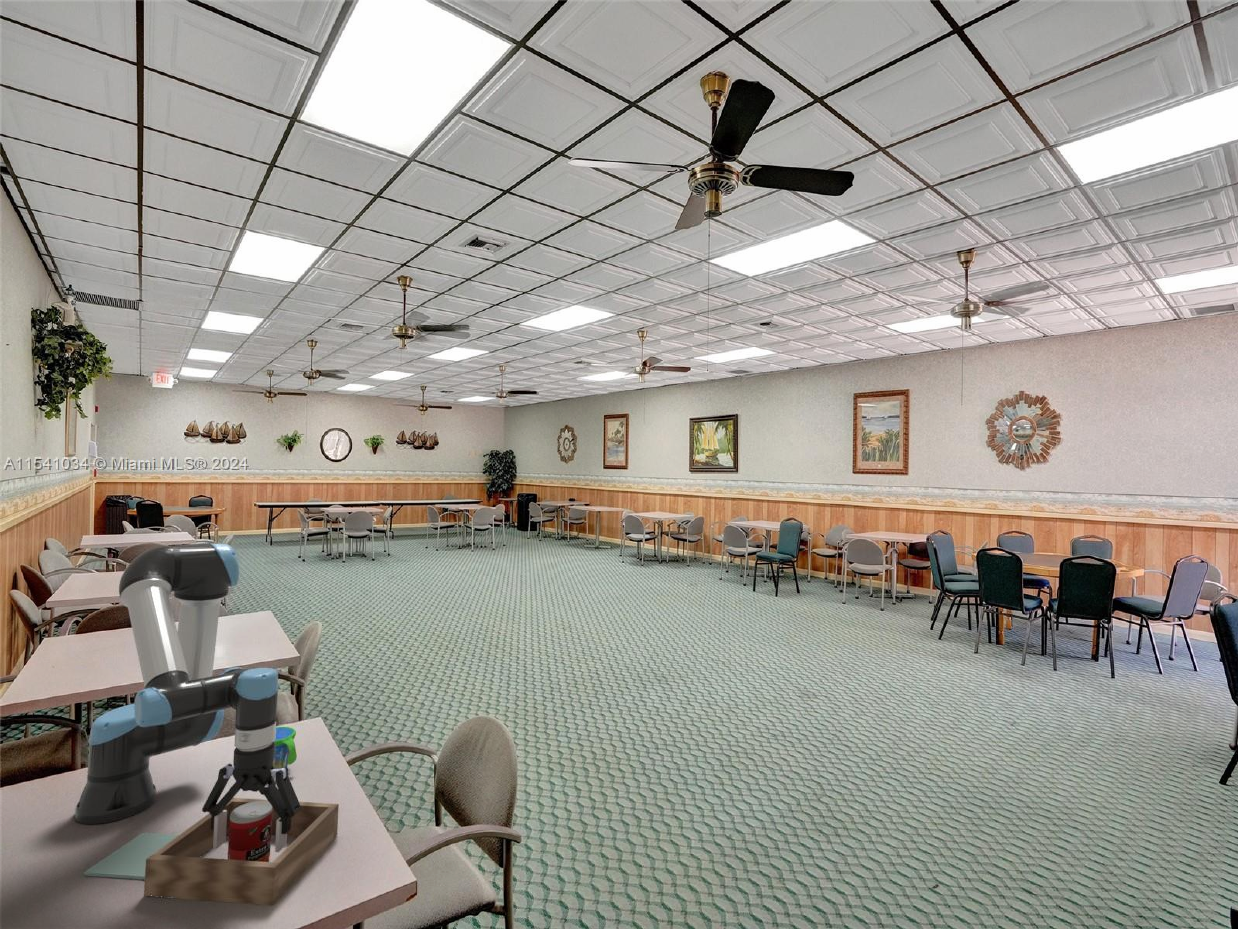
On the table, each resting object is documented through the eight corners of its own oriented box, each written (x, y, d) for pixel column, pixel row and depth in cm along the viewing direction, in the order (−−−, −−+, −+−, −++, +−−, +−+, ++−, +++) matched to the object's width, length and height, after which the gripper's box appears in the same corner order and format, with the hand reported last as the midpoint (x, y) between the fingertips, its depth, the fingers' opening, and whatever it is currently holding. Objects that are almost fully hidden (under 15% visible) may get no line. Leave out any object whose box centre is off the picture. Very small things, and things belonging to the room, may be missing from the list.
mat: (83, 875, 119) (83, 872, 119) (143, 835, 133) (143, 832, 133) (148, 880, 119) (149, 877, 119) (202, 839, 133) (202, 836, 133)
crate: (143, 896, 114) (146, 859, 114) (229, 828, 137) (230, 797, 137) (272, 905, 112) (274, 867, 113) (337, 835, 135) (338, 804, 136)
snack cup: (307, 770, 166) (309, 733, 166) (270, 786, 156) (272, 747, 157) (274, 756, 173) (276, 721, 174) (237, 771, 164) (239, 734, 164)
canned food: (250, 877, 120) (253, 822, 121) (217, 871, 122) (220, 817, 122) (278, 855, 128) (281, 803, 128) (247, 849, 129) (250, 798, 130)
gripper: (185, 749, 123) (179, 854, 122) (300, 755, 121) (295, 861, 120) (212, 734, 130) (207, 833, 129) (321, 739, 129) (316, 839, 128)
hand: (249, 847), depth 125 cm, fingers open, 13 cm apart
